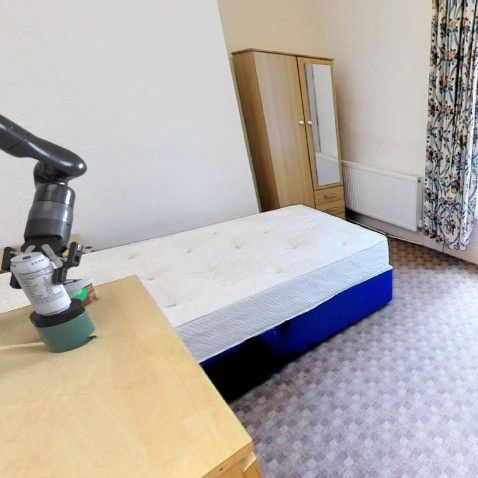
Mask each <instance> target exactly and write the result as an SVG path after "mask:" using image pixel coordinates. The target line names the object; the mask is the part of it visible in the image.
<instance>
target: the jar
mask: <svg viewBox="0 0 478 478" xmlns="http://www.w3.org/2000/svg"><path fill="white" fill-rule="evenodd" d="M33 327H34V330H36V332H37V334H38V335H39V337H40V339H41V341H42V342H43V344H44V345H45V347H46V349H47V350H48V351H49V352H50V353H54V354H59V353H60V354H61V353H65V352H70V351H73V350H75V349H77V348H81V347H83V346H84V345H87V344H88V343H90V342H91V341H93V339H95V338H96V336H97V335H92V334H93V333H94V332H95V330H96V326H95V324H94V322H93V320H92V317H91V316H90V314H89V311H88V310H87V307H85V310H84V311H83V312H82V313H81V314H80V315H78V316H77V317H75V318H73V319H71V320H68V321H66V322H63V323H60V324H57V325H53V326H47V327H37V326H34V325H33Z"/></svg>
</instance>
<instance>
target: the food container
mask: <svg viewBox="0 0 478 478" xmlns="http://www.w3.org/2000/svg"><path fill="white" fill-rule="evenodd" d="M94 282H95V280H94V279H93V278H92V276H90V275H87V276H86V277H84V278H79V279H75V278H74V279H70V278H68V279H67V278H66V281H65V282H63V284H62V285H63V286H64V288H65V290H66V292H67V294H68V296H69V298H70V299H71V298H77V299H80V300H82V302H83V303H84V305H85V307H86V306H89V305H91V304H92V303H94V302H96V301H97V300H98V297H97V295H96V291H95V288H94V285H93V283H94Z"/></svg>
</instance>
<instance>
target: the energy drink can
mask: <svg viewBox="0 0 478 478" xmlns="http://www.w3.org/2000/svg"><path fill="white" fill-rule="evenodd" d="M11 262H12V263H11V266H10V269H11V270H12V272H13V274H14V275H15V277H16V279H17V281H18V282H19V284H20V286H21V287H22V289H21V290H22V291H23V293H24V294H25V296H26V298H27V299H28V301H29V303H30V304H31V306H32V308H33V310H34V311H36V313H38V314H41V315H44V316H48V315H53V314H57V313H60V312H62V311H64V310H66V309H67V308H68V307H69V306H70V305H69V304H70V303H71V300H70V298H69V296H68V294H67V292H66V290H65V288H64V286H63V285H56V284H53V283H52V281H53V275H54V270H55V268H54V266H53V262H52V261H50V259H49V258H48V257H46V256H44V255H42V253H41V252H32V253H26V254H23V253H21V255H19V256H16V257H14V258H12V259H11Z"/></svg>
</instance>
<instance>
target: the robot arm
mask: <svg viewBox="0 0 478 478" xmlns="http://www.w3.org/2000/svg"><path fill="white" fill-rule="evenodd" d="M0 151H2V152H4V153H5V154H7V155H9V156H11V157H14V158H17V159H33V160H36V161H37V162H36V163H35V165H34V167H33V170H32V176H33V185H34V188H35V191H34V195H33V200H32V204H31V206H30V209H29V210H28V214H27V217H26V222H25V227H24V231H23V240H24V242H23V244H22V245H21V246H18V247H17V246H16V247H12V246H5V247H4V248H3V254H2V258H1V259H2V260H1V264H0V270H1V271H4V272H8V273H10V274H11V275H10V279H9V284H8V285H9V287H10V288H11V289H13V290H23V289H22V287H21V286H20V284H19V282H18V281H17V279H16V277H15V275H14V274H13V272H12V270H11V269H10V266H11V263H12V262H11V259H12V258H14V257H16V256H19V255H22V254H26V253H32V252H41V253H42V255H44V256H46V257H48V258H49V259H50V261H51V262H52V263H53V264H54V266H55V267H56V268H54V269H55V270H54V275H53V281H52V283H53V284H56V285H62V284H63V282H65V281H66V279H67V278H68V273H69V272H68V271H69V270H70V269H71V268H74V267H75V268H78V267H79V266H80V264H81V260H82V255H83V251H84V247H85V246H84V244H82V243H79V242H77V241H72V242H69V241H70V239H71V234H72V228H73V223H74V210H75V209H74V208H75V203H76V192H75V190H74V189H73V188H72V187H70V186H69V183H70V181H72V180H75V179H78V178H80V177H83V176H84V175H85V174H86V173H87V171H88V165H87V163H86V162H85V160H84V159H83V158H82V157H81V156H79V155H78V154H77V153H76V152H74V151H72V150H70V149H68V148H66V147H63V146H61V145H58V144H57V143H54V142H52V141H49V140H47V139H44V138H41V137H39V136H37V135H35V134H33V133H32V132H31V131H29V130H28V129H26V128H24V127H23V126H21V125H19V124H18V123H16V122H15V121H13V120H11V119H10V118H8V117H7V116H5V115H3V114H1V113H0ZM66 251H68V252H67V256H66V257H65V255H64V254H65V252H66Z"/></svg>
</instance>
